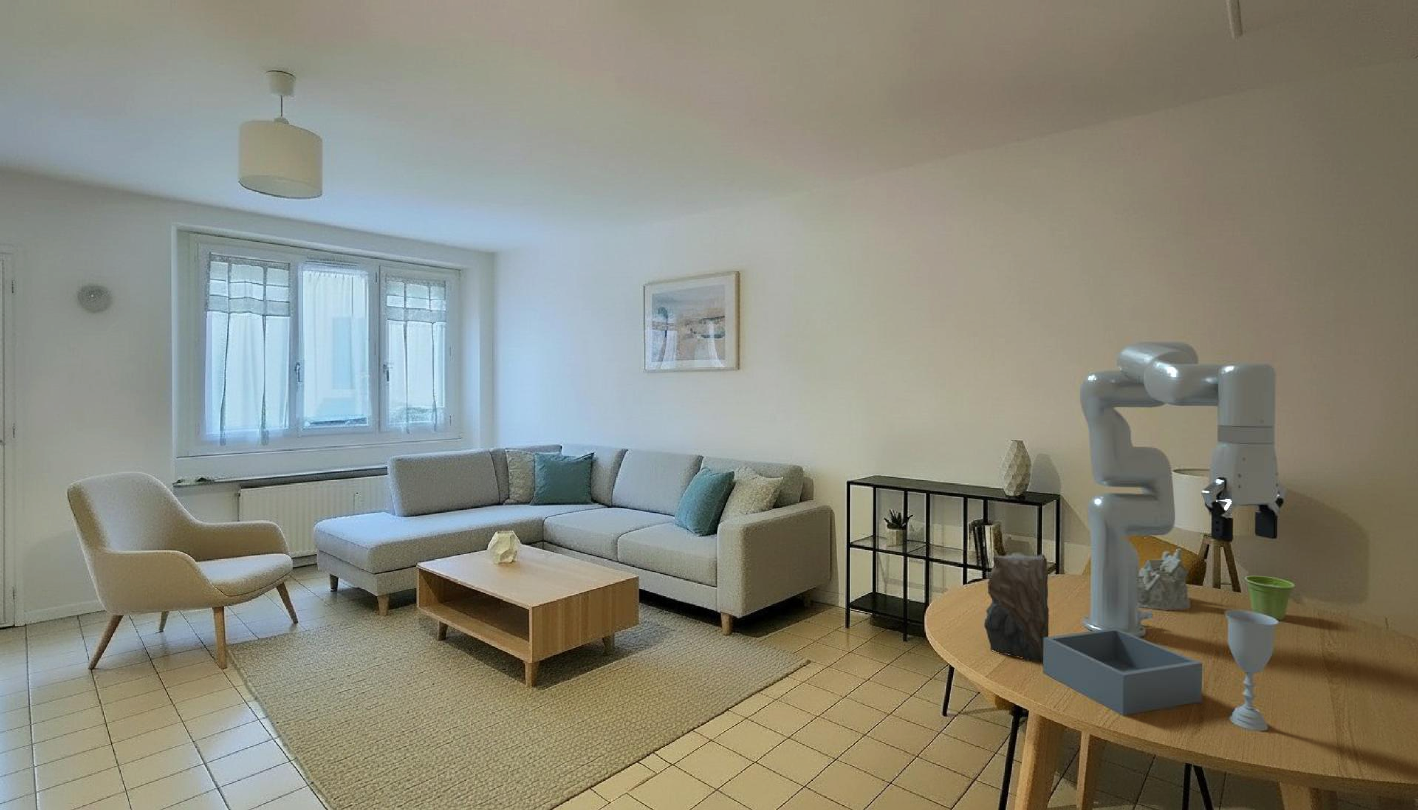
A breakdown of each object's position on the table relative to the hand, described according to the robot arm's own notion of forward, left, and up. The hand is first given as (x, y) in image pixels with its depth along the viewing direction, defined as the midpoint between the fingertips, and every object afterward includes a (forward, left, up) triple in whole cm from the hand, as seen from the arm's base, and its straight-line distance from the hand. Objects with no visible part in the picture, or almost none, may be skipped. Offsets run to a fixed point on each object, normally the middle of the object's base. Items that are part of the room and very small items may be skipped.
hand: (1244, 538), depth 113 cm
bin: (+9, -16, -31) cm, 36 cm away
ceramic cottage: (-44, -53, -31) cm, 76 cm away
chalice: (0, +1, -31) cm, 31 cm away
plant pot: (-60, -36, -31) cm, 77 cm away
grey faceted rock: (+14, -35, -31) cm, 49 cm away
